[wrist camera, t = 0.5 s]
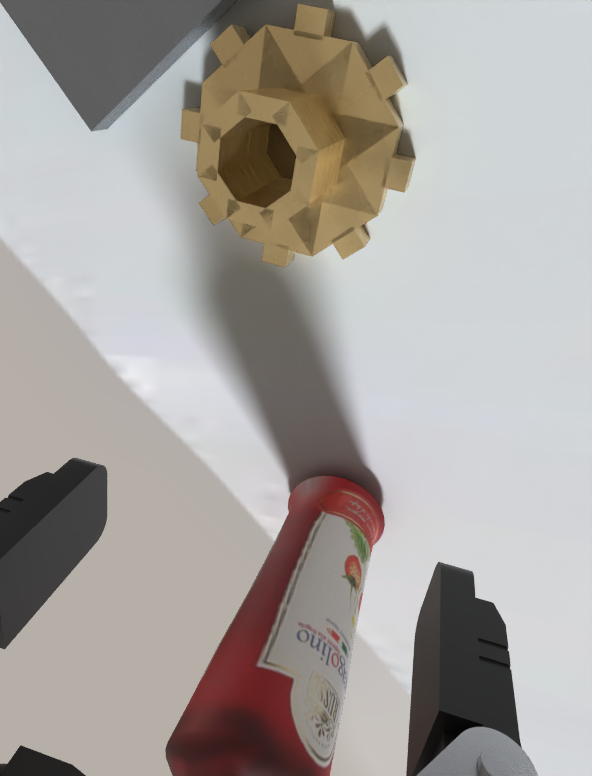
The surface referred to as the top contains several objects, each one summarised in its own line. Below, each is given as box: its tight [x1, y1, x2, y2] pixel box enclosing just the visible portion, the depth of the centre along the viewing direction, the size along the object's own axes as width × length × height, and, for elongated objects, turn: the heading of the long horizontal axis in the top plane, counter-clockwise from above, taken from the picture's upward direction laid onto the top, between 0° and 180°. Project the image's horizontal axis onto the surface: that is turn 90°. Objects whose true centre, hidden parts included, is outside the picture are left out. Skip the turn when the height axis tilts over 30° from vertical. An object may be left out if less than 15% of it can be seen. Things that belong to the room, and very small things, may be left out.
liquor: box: [166, 476, 385, 776], centre depth 28 cm, size 7×7×28 cm
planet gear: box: [181, 4, 416, 267], centre depth 26 cm, size 12×12×6 cm
